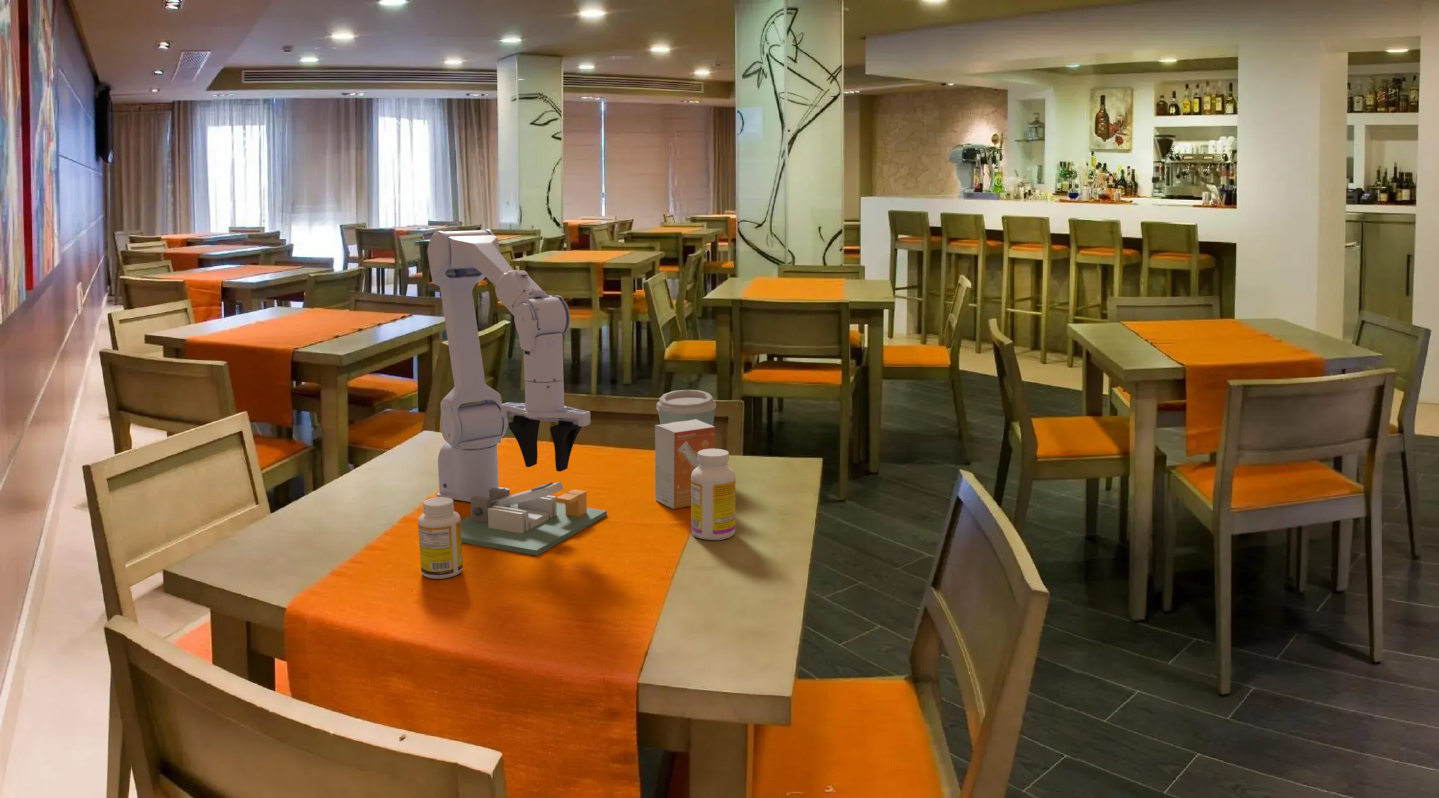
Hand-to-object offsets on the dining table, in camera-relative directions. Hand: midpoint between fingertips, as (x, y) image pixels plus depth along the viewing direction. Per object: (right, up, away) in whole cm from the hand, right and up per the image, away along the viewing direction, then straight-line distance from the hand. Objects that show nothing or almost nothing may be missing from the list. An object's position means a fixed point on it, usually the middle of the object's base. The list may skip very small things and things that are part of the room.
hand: (546, 467), depth 162 cm
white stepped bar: (-4, -5, +3) cm, 7 cm away
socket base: (-4, -9, +4) cm, 11 cm away
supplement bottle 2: (+25, -10, +1) cm, 27 cm away
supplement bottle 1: (-12, -14, -15) cm, 24 cm away
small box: (+20, -7, +17) cm, 27 cm away
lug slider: (+3, -8, +6) cm, 10 cm away
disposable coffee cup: (+20, -4, +31) cm, 37 cm away
